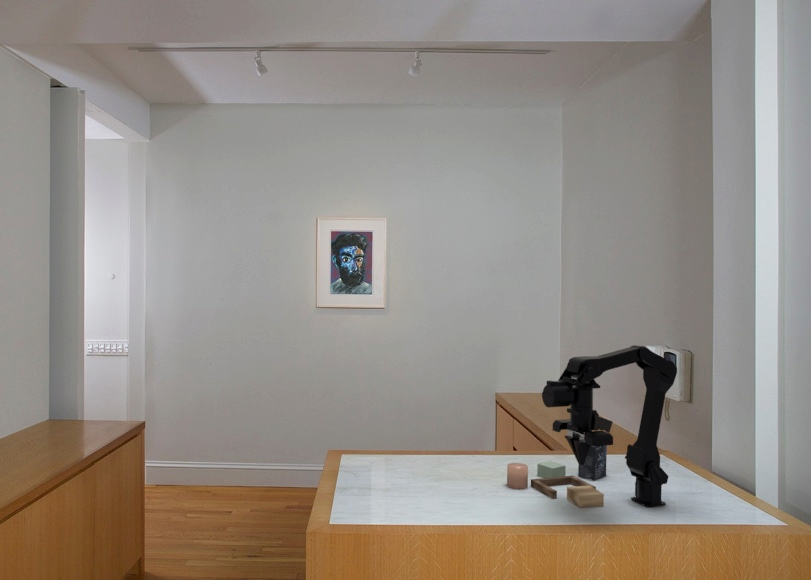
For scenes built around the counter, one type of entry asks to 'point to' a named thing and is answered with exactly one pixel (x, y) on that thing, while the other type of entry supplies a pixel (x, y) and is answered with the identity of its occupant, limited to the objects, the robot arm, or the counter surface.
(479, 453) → the counter surface
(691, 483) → the counter surface
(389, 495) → the counter surface
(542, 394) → the robot arm
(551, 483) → the walnut bay
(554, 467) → the matte sage squarish block
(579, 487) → the oak block
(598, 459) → the box
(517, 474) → the tan round cylinder
